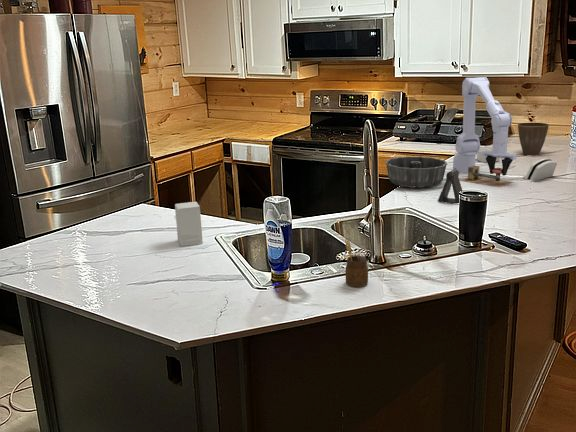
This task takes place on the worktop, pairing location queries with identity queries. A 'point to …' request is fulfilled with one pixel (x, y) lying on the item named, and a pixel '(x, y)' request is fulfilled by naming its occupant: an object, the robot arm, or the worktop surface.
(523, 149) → the plant pot
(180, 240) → the supplement box
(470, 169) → the wooden holder
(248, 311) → the worktop surface
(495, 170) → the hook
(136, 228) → the worktop surface
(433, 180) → the bundt pan
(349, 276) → the utensil holder
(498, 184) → the board
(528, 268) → the worktop surface
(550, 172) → the grey rounded block
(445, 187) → the phone stand
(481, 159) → the saucepan
